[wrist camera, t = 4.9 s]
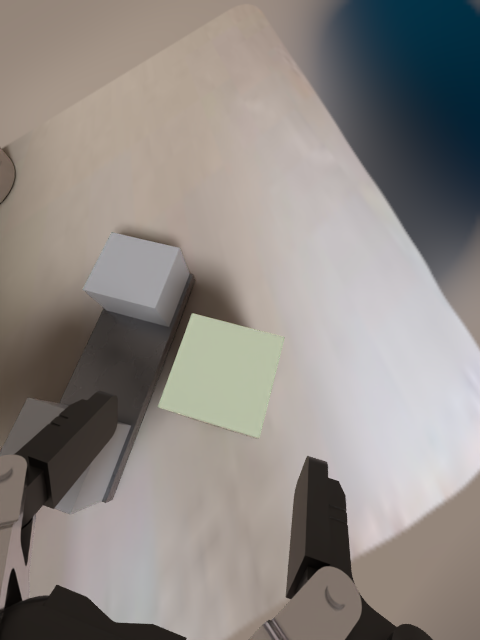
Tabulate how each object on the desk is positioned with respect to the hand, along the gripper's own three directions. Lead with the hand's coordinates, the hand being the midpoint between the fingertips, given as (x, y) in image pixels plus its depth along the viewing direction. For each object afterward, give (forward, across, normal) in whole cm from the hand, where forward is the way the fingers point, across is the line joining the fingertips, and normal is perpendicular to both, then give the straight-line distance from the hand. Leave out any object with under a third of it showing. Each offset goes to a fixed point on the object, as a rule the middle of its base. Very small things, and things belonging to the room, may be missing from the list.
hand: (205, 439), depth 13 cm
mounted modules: (+8, +8, +4) cm, 12 cm away
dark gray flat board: (+8, +8, +4) cm, 12 cm away
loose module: (+8, 0, +4) cm, 9 cm away
